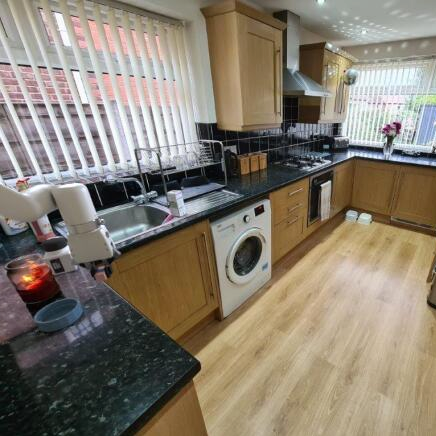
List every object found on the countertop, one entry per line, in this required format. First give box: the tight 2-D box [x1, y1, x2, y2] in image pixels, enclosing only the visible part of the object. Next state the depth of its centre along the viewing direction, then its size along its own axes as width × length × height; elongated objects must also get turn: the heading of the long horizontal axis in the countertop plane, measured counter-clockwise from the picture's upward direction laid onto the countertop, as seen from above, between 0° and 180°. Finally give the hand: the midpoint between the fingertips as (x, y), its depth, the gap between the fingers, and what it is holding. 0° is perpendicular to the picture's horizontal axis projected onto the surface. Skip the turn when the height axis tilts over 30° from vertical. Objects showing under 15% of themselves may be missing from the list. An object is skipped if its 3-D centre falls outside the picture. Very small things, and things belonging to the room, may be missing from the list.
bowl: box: [33, 297, 84, 333], centre depth 71 cm, size 10×10×4 cm
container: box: [40, 236, 78, 277], centre depth 93 cm, size 8×8×13 cm
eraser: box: [94, 265, 108, 283], centre depth 79 cm, size 5×3×3 cm, turn 22°
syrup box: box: [166, 189, 186, 218], centre depth 143 cm, size 6×6×14 cm
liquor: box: [16, 182, 57, 243], centre depth 111 cm, size 7×7×28 cm
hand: (103, 276), depth 79 cm, fingers closed on eraser, 2 cm apart
